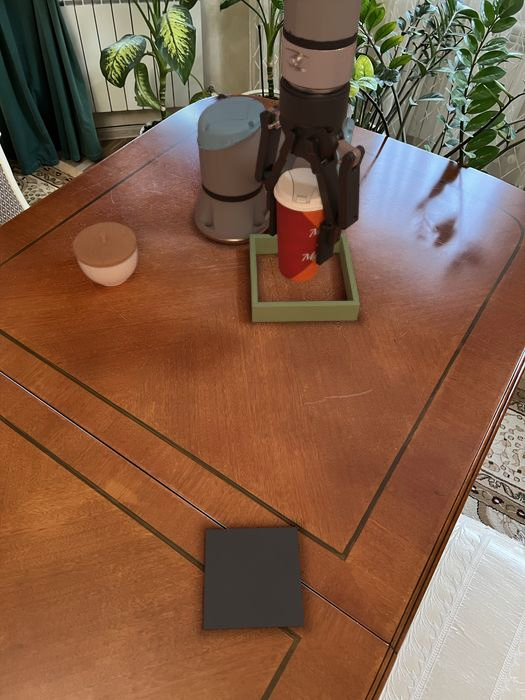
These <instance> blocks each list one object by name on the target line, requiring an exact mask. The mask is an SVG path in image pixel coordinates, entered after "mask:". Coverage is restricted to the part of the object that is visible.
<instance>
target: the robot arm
mask: <svg viewBox="0 0 525 700" xmlns="http://www.w3.org/2000/svg"><path fill="white" fill-rule="evenodd" d="M362 5H363V0H283V22H282V31H281V32H282V33H281V35H282V36H281V50H280V51H281V52H280V53H281V55H280V74H281V77H280V78H279V88H278V89H279V91H278V104H274V105H272V106H271V107H268V108H265V106H264V104H263V103H262V102H261V101H260V100H258V99H256V100H255V99H254V97H250V96H231V97H230V96H229V97H228V96H227V95H225V94H224V93H219V94H217V98H218V99H219V100H217V101H215V102H214V103H212V104H210V105H208V106H207V107H206V108H205V109H204V110H202V112H201V114H200V115H199V117H198V119H197V136H196V137H197V138H196V143H197V146H198V147H197V148H198V159H199V170H200V171H199V172H200V182H201V188H200V191H199V194H198V197H197V201H196V204H195V208H194V224H195V227H196V230H198V232H199V233H200V234H201V235H202V236H203V237H204V238H206V239H208V240H210V241H212V242H215V243H218V244H222V245H228V246H229V245H230V246H233V245H235V246H236V245H245V244H250V234H267V233H268V234H269V235H270V236H272V237H273V236H275V235H276V234H277V200H276V198H275V195H274V187H275V185H276V184H277V182H278V180H279V178H280V176H281V175H282V174H283V173H285V172H286V171H289V170H292V169H296V168H311V170H312V173H313V174H314V175H316V179H317V183H318V188H319V192H320V197H321V201H322V206H323V211H324V215H325V221H323V222H322V223H321V224H320V231H319V239H318V247H317V255H316V264H318V265H319V266H318V267H320V266H322V265H323V264H324V263H326V262H327V261H328V260H330V259H331V258H332V257H333V256H334V253H333V250H334V245H335V244H336V243H338V242H339V240H340V238H341V233H342V232H343V231H346V230H347V229H349V228H350V227H352V225H354V224H355V223H356V222H358V221H359V216H360V189H361V188H360V187H361V186H360V185H361V184H360V183H361V164H362V162H363V159H364V157H365V154H366V149H365V147H364V146H363V145H362V144H358V145H356V146H354V145H352V142H353V135H354V130H355V120H354V119H353V118H351V117H350V116H347V115H348V107H349V100H350V94H351V86H352V85H351V79H352V78H353V75H354V67H355V61H356V59H355V58H356V51H357V45H358V36H359V35H358V34H359V23H360V18H361V17H360V16H361V12H362Z"/></svg>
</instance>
